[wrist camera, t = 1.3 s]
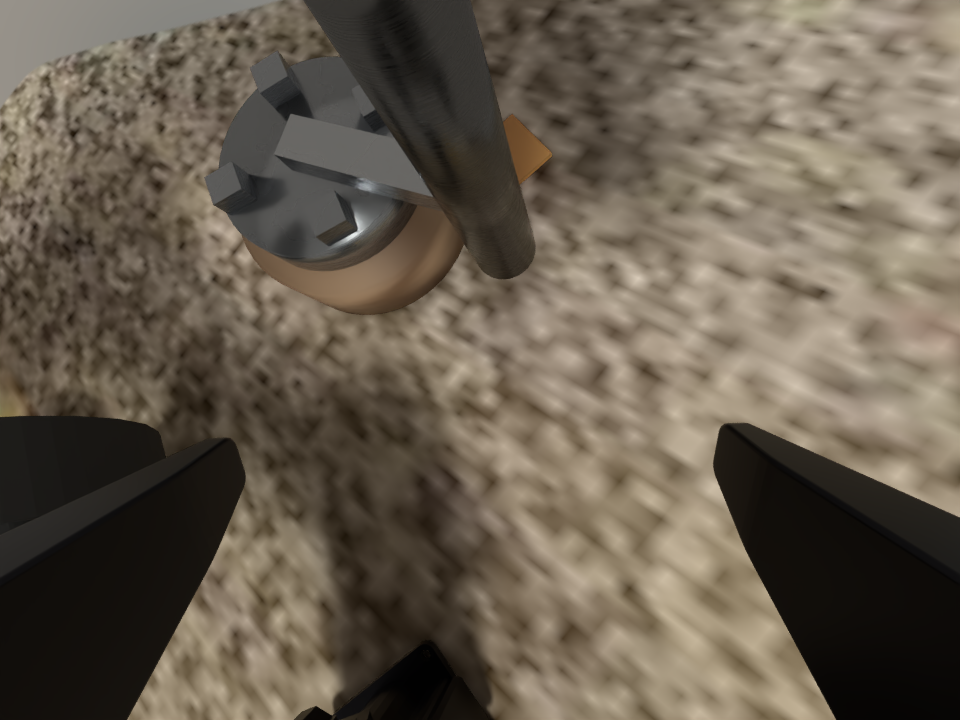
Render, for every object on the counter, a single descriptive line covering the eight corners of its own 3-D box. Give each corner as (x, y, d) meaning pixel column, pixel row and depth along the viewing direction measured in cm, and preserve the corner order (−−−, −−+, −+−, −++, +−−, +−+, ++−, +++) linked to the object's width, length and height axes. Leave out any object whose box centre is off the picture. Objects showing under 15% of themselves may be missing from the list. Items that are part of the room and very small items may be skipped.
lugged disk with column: (267, 264, 26) (-144, 55, 11) (327, 117, 26) (7, -268, 12) (501, 344, 22) (343, 192, 8) (565, 172, 23) (532, -280, 8)
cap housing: (356, 356, 25) (314, 343, 21) (254, 217, 27) (200, 183, 24) (566, 170, 24) (563, 121, 20) (439, 44, 26) (414, -21, 22)
